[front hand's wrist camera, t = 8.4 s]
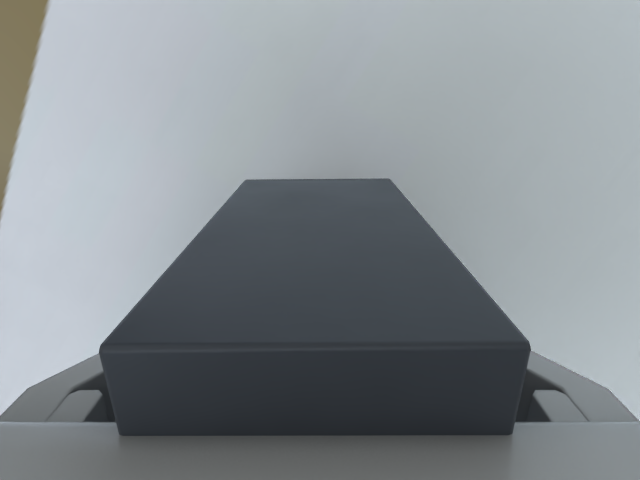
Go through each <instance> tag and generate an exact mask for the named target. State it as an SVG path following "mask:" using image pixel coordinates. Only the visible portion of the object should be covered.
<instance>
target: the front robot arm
mask: <svg viewBox="0 0 640 480" xmlns="http://www.w3.org/2000/svg"><path fill="white" fill-rule="evenodd" d="M0 480H640V421H639V420H638V419H637V418H636V417H635V416H634V415H633V414H632V413H631V412H630V411H629V410H628V409H627V408H626V407H625V406H624V405H623V404H622V403H621V402H620V401H619V400H618V399H617V398H616V397H615V396H614V395H613V394H612V393H611V392H610V390H609V389H607V388H605V387H603V386H601V385H599V384H597V383H595V382H593V381H591V380H589V379H587V378H585V377H583V376H581V375H579V374H577V373H575V372H573V371H571V370H569V369H567V368H565V367H563V366H561V365H559V364H557V363H555V362H553V361H551V360H549V359H547V358H545V357H543V356H541V355H539V354H537V353H535V352H533V351H530V356H529V360H528V365H527V369H526V374H525V379H524V383H523V388H522V392H521V397H520V401H519V406H518V411H517V415H516V420H515V424H514V429H513V434H511V435H372V436H122V435H119V432H118V428H117V424H116V420H115V416H114V412H113V408H112V404H111V400H110V396H109V392H108V388H107V384H106V380H105V376H104V371H103V367H102V363H101V359H100V355H99V354H97V355H95V356H93V357H91V358H89V359H86V360H84V361H82V362H80V363H78V364H76V365H74V366H72V367H70V368H68V369H66V370H64V371H62V372H60V373H58V374H56V375H54V376H52V377H50V378H48V379H46V380H44V381H42V382H40V383H38V384H36V385H34V386H32V387H30V388H28V389H27V390H26V391H25V392H24V393H23V394H22V395H21V396H20V397H19V398H18V399H17V400H16V401H15V402H14V403H13V404H12V405H11V406H10V407H9V408H8V409H7V410H6V411H5V412H4V413H3V414H2V415H1V416H0Z"/></svg>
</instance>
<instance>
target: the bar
mask: <svg viewBox="0 0 640 480" xmlns="http://www.w3.org/2000/svg"><path fill="white" fill-rule="evenodd" d="M530 351H531V348H530V344H529V341H528V340H527V339H526V338H525V337H524V335H523V334H522V333H521V332H520V331H519V330H518V328H517V327H516V326H515V325H514V324H513V323H512V321H511V320H510V319H509V318H508V317H507V315H506V314H505V313H504V312H503V311H502V310H501V308H500V307H499V306H498V305H497V304H496V303H495V301H494V300H493V299H492V298H491V297H490V296H489V294H488V293H487V292H486V291H485V290H484V289H483V287H482V286H481V285H480V284H479V283H478V282H477V280H476V279H475V278H474V277H473V276H472V275H471V273H470V272H469V271H468V270H467V269H466V268H465V266H464V265H463V264H462V263H461V262H460V260H459V259H458V258H457V257H456V256H455V255H454V253H453V252H452V251H451V250H450V249H449V248H448V246H447V245H446V244H445V243H444V242H443V241H442V239H441V238H440V237H439V236H438V235H437V234H436V232H435V231H434V230H433V229H432V228H431V227H430V225H429V224H428V223H427V222H426V221H425V220H424V218H423V217H422V216H421V215H420V214H419V213H418V211H417V210H416V209H415V208H414V207H413V205H412V204H411V203H410V202H409V201H408V200H407V198H406V197H405V196H404V195H403V194H402V193H401V191H400V190H399V189H398V188H397V187H396V186H395V184H394V183H393V182H392V181H391V180H390V179H281V180H245V181H244V182H243V183H242V184H241V186H240V187H239V188H238V189H237V190H236V191H235V192H234V194H233V195H232V196H231V197H230V198H229V199H228V200H227V202H226V203H225V204H224V205H223V206H222V207H221V208H220V210H219V211H218V212H217V213H216V214H215V215H214V216H213V217H212V219H211V220H210V221H209V222H208V223H207V224H206V225H205V227H204V228H203V229H202V230H201V231H200V232H199V233H198V235H197V236H196V237H195V238H194V239H193V240H192V241H191V243H190V244H189V245H188V246H187V247H186V248H185V249H184V251H183V252H182V253H181V254H180V255H179V256H178V257H177V259H176V260H175V261H174V262H173V263H172V264H171V265H170V267H169V268H168V269H167V270H166V271H165V272H164V273H163V275H162V276H161V277H160V278H159V279H158V280H157V281H156V283H155V284H154V285H153V286H152V287H151V288H150V289H149V291H148V292H147V293H146V294H145V295H144V296H143V297H142V298H141V300H140V301H139V302H138V303H137V304H136V305H135V306H134V308H133V309H132V310H131V311H130V312H129V313H128V314H127V316H126V317H125V318H124V319H123V320H122V321H121V322H120V324H119V325H118V326H117V327H116V328H115V329H114V330H113V332H112V333H111V334H110V335H109V336H108V337H107V338H106V340H105V341H104V342H103V343H102V344H101V346H100V349H99V355H100V359H101V363H102V367H103V371H104V376H105V380H106V384H107V388H108V392H109V396H110V400H111V404H112V408H113V412H114V416H115V420H116V424H117V428H118V432H119V435H122V436H372V435H511V434H513V429H514V424H515V420H516V415H517V411H518V406H519V401H520V397H521V392H522V388H523V383H524V379H525V374H526V369H527V365H528V360H529V356H530Z"/></svg>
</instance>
